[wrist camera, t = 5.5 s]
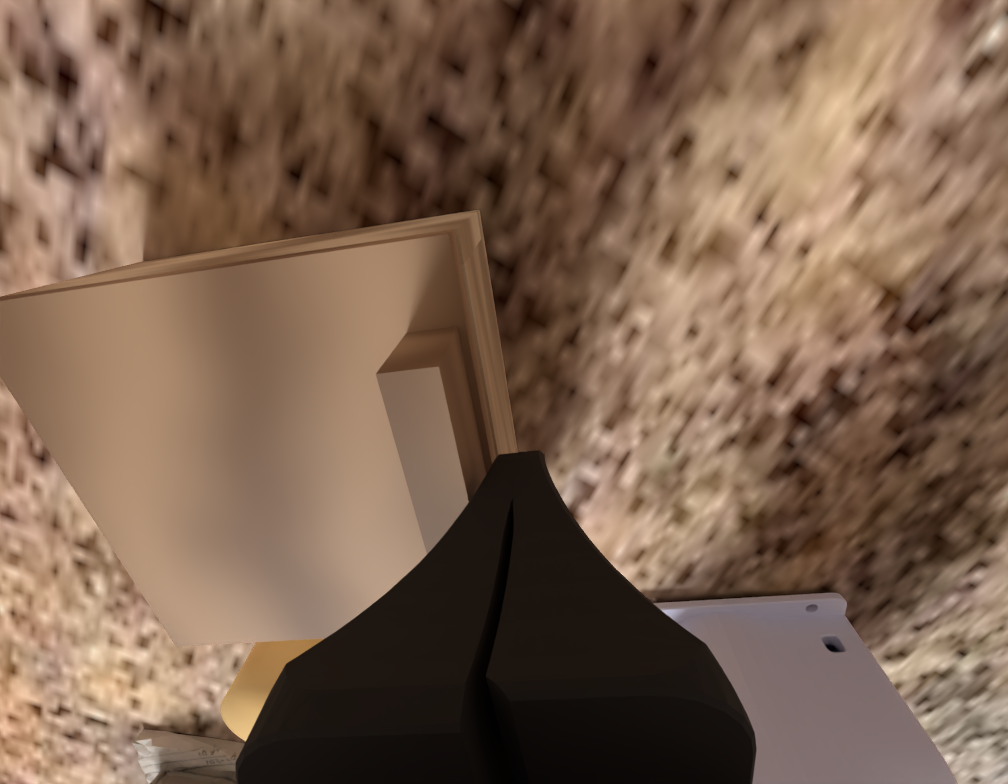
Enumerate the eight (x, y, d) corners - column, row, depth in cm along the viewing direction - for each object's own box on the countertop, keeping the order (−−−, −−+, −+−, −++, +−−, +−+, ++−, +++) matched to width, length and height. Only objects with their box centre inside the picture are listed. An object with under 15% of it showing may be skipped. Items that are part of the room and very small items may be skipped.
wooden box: (479, 209, 15) (457, 228, 11) (526, 506, 20) (525, 603, 16) (141, 261, 17) (-4, 297, 12) (265, 528, 22) (194, 623, 17)
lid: (454, 229, 11) (425, 253, 8) (523, 606, 16) (521, 705, 13) (-11, 298, 12) (-182, 341, 9) (191, 626, 17) (121, 720, 14)
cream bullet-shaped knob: (358, 579, 23) (315, 681, 18) (383, 646, 25) (350, 753, 20) (265, 586, 23) (201, 687, 19) (297, 651, 25) (246, 756, 21)
